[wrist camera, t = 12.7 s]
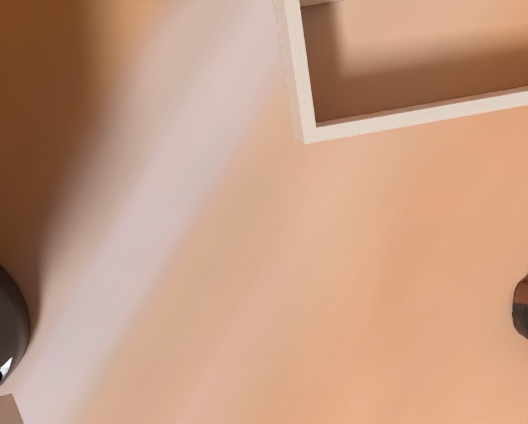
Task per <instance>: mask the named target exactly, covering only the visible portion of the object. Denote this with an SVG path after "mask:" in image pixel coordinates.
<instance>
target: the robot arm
mask: <svg viewBox="0 0 528 424" xmlns="http://www.w3.org/2000/svg"><path fill="white" fill-rule="evenodd" d="M29 329H30V326H29V315H28V310H27V307H26V303H25V301H24V298H23V296H22V294H21V292H20V290H19V288H18V286H17V285H16V283H15V282H14V280H13V279H12V278H11V276H10V275H9V274H8V273H7V272H6V271H5V270H4V269H3V268H2V267H1V266H0V386H1V385H2V384H3V383H4V382H5V380H6V379H7V378H8V377H9V375H10V374H11V373H12V372H13V371H14V369H15V368H16V367H17V365H18V364H19V362H20V361H21V359H22V357H23V355H24V353H25V350H26V347H27V343H28V339H29ZM0 424H24V423H23V420H22V418H21V415H20V413H19V410H18V408H17V405H16V402H15V400H14V397H13V395H12V394H9V395H4V396H0Z"/></svg>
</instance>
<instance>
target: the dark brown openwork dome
mask: <svg viewBox="0 0 528 424" xmlns="http://www.w3.org/2000/svg"><path fill="white" fill-rule="evenodd" d="M513 302H514V303H513V312H512V317H513V324H514V327H515V328H516V330H517V331H518V333H519V334H521V335H523V336H524V337H525V338H527V339H528V283H526V282H519V283H518V286H517V288H516V291H515V294H514V301H513Z"/></svg>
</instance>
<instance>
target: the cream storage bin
mask: <svg viewBox="0 0 528 424" xmlns="http://www.w3.org/2000/svg"><path fill="white" fill-rule="evenodd" d="M334 1H340V0H273V6H274V13H275V20H276V26H277V33H278V40H279V47H280V53H281V60H282V67H283V74H284V80H285V87H286V94H287V101H288V107H289V114H290V121H291V128H292V134H293V139H294V140H297V141H299V142H301V143H303V144H308V143H314V142H320V141H325V140H331V139H337V138H342V137H348V136H354V135H360V134H365V133H371V132H377V131H382V130H388V129H394V128H400V127H405V126H411V125H417V124H422V123H428V122H434V121H439V120H445V119H451V118H457V117H462V116H468V115H474V114H479V113H485V112H491V111H497V110H502V109H508V108H514V107H519V106H525V105H528V86H524V87H518V88H513V89H507V90H501V91H495V92H490V93H484V94H478V95H472V96H467V97H461V98H455V99H449V100H443V101H438V102H432V103H426V104H420V105H415V106H409V107H403V108H397V109H392V110H386V111H380V112H374V113H368V114H363V115H357V116H351V117H345V118H340V119H334V120H328V121H322V122H317V123H316V122H315V115H314V107H313V100H312V93H311V85H310V78H309V70H308V63H307V55H306V48H305V41H304V33H303V26H302V18H301V11H300V7H303V6H309V5H315V4H321V3H328V2H334Z"/></svg>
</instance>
